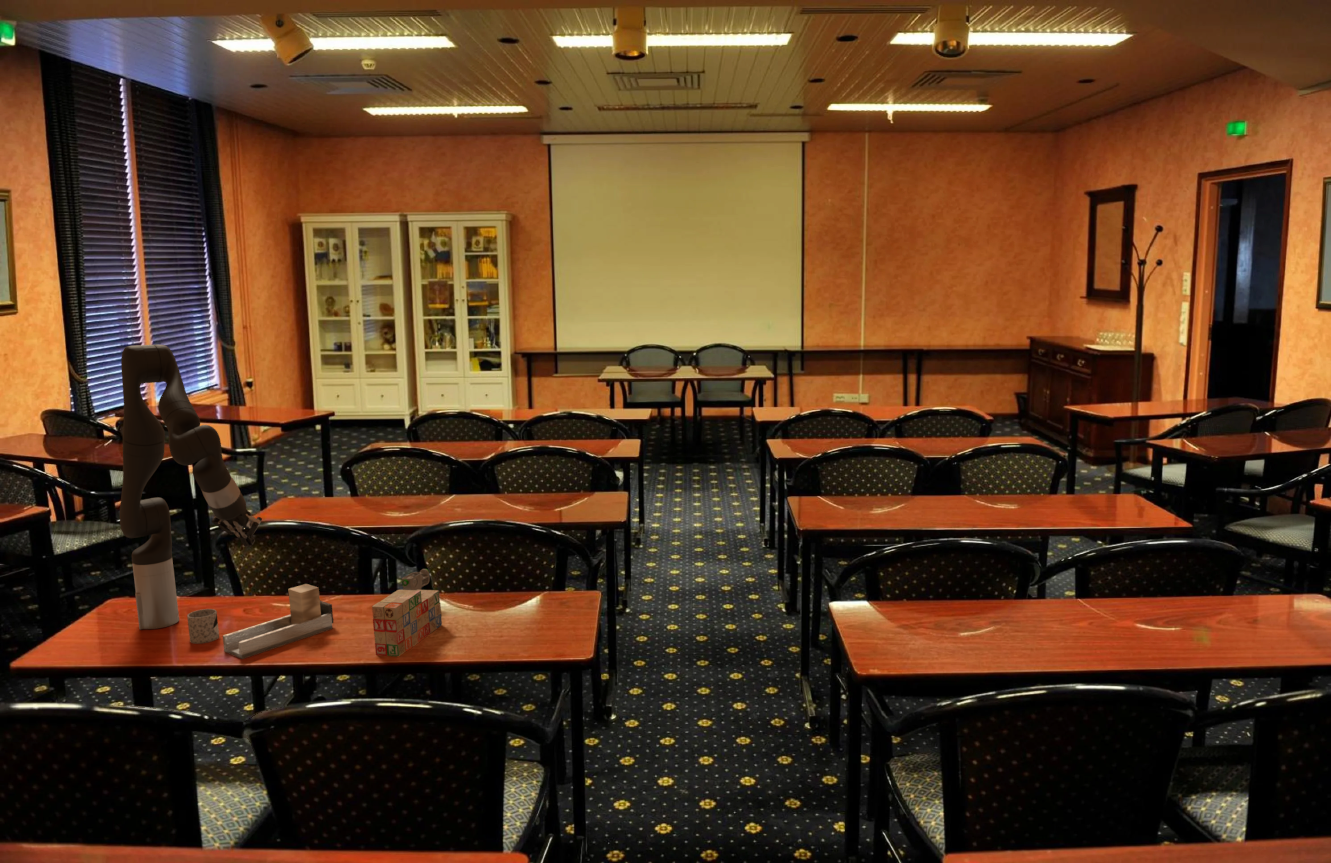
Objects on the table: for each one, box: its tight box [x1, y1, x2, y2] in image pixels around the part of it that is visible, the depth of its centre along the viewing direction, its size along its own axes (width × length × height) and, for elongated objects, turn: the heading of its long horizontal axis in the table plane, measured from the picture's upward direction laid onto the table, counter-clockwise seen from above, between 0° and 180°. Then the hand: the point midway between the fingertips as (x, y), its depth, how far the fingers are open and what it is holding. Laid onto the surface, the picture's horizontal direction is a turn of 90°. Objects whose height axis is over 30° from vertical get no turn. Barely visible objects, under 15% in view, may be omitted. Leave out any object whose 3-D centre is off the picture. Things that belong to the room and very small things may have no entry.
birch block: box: [288, 583, 321, 625], centre depth 245 cm, size 5×6×10 cm
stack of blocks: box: [371, 589, 443, 657], centre depth 237 cm, size 21×6×12 cm, turn 165°
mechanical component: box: [401, 568, 431, 590], centre depth 259 cm, size 3×10×10 cm, turn 161°
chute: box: [222, 600, 334, 660], centre depth 240 cm, size 25×8×6 cm, turn 141°
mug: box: [186, 608, 220, 645], centre depth 244 cm, size 10×7×7 cm, turn 37°
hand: (249, 544), depth 242 cm, fingers closed
